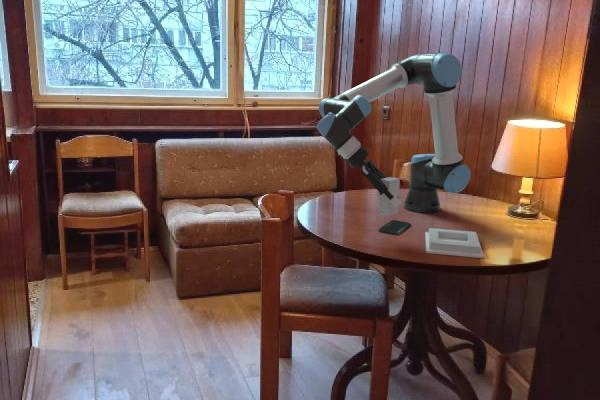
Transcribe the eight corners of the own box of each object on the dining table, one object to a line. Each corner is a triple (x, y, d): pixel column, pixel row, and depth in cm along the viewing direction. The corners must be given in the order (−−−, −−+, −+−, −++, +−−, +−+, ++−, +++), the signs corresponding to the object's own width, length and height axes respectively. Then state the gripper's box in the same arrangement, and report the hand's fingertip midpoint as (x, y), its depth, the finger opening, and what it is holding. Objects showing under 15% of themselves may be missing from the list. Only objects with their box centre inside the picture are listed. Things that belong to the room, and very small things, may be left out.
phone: (411, 223, 203) (397, 233, 190) (411, 226, 203) (397, 236, 190) (392, 219, 207) (377, 229, 194) (391, 222, 207) (377, 232, 194)
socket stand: (425, 234, 193) (425, 226, 192) (477, 238, 189) (478, 230, 188) (426, 252, 174) (426, 244, 173) (483, 258, 170) (484, 249, 169)
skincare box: (388, 216, 179) (390, 181, 176) (377, 213, 182) (379, 179, 179) (398, 212, 184) (401, 178, 180) (388, 210, 187) (390, 176, 183)
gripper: (348, 154, 191) (392, 201, 192) (341, 165, 172) (389, 217, 173) (364, 140, 188) (408, 188, 189) (358, 150, 169) (407, 202, 171)
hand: (399, 202), depth 181 cm, fingers closed on skincare box, 7 cm apart
